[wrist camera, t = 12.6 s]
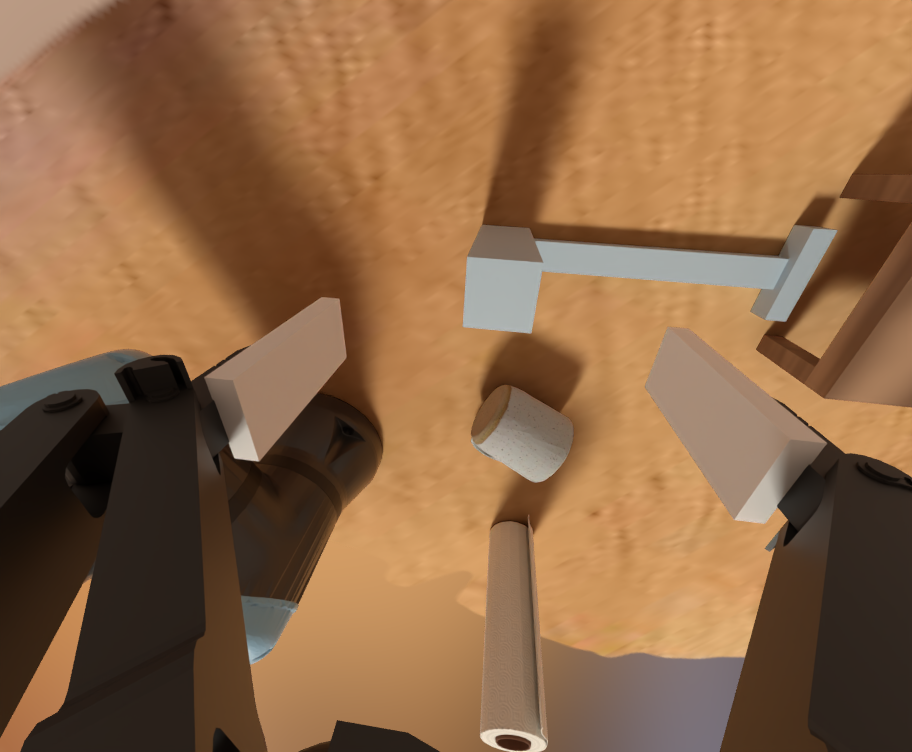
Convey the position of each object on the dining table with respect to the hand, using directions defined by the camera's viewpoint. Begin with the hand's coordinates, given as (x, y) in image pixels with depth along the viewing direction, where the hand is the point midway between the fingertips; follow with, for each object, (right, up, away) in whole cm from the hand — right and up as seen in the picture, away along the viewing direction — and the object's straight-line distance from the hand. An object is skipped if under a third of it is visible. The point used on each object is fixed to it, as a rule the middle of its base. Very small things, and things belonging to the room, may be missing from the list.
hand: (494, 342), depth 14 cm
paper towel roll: (+7, -24, +35) cm, 43 cm away
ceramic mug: (+5, -6, +25) cm, 26 cm away
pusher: (+13, +8, +15) cm, 22 cm away
